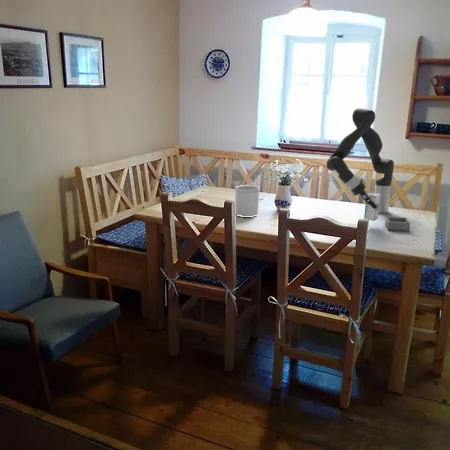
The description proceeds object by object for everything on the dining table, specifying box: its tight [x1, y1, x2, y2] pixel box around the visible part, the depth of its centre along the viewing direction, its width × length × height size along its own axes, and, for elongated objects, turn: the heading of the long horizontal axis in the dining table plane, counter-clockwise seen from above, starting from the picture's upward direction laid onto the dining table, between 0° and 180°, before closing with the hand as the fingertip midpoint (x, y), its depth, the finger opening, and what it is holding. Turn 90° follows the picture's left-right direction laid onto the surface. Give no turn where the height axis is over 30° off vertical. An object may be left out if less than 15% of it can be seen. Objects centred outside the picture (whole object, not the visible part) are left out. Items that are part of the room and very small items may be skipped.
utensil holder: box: [234, 184, 260, 216], centre depth 288 cm, size 15×15×18 cm
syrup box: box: [363, 192, 380, 222], centre depth 261 cm, size 6×6×14 cm
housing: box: [384, 216, 411, 233], centre depth 261 cm, size 11×11×5 cm
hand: (374, 206), depth 261 cm, fingers closed on syrup box, 7 cm apart
